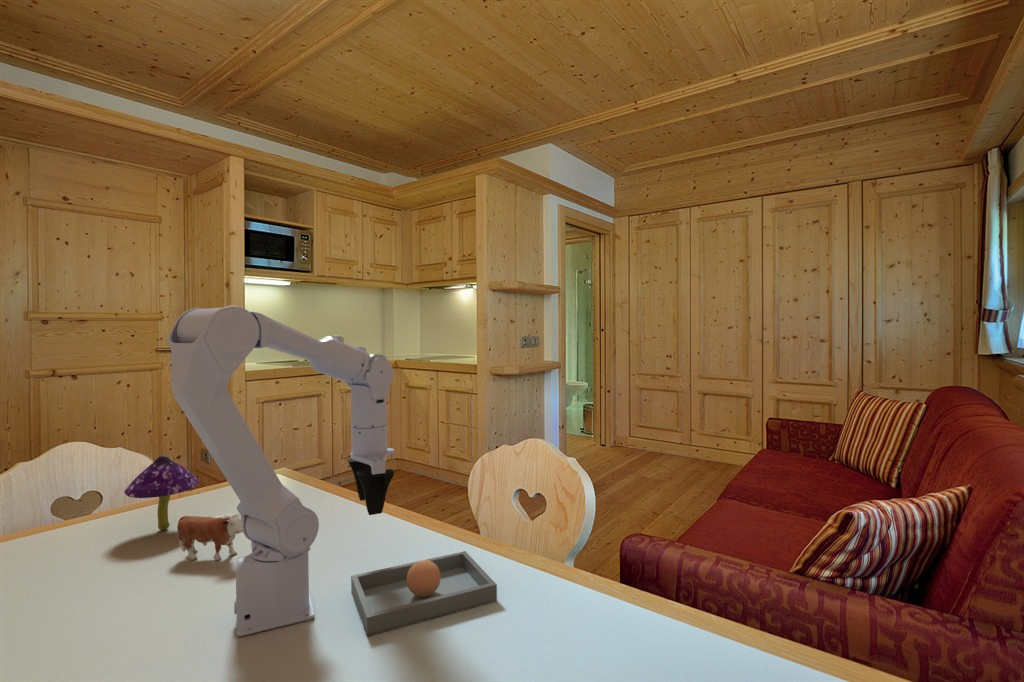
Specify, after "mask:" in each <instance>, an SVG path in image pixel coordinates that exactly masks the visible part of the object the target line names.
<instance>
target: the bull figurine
mask: <svg viewBox="0 0 1024 682" xmlns="http://www.w3.org/2000/svg"><path fill="white" fill-rule="evenodd" d="M176 530H177V534H178V543H179V547H180V549H181V551H182V552H186V551H187V553H188V555H187V556H188V557H187V558H188V559H190V560H191V561H196V560H198V558H199V557H198V556H197V553H198V552H199V551H198V550H197V548H196V546H195V541H196V542H198V543H200V544H203V546H204V547H206V546H207V545H208V543H214V549H215V553H214V555H213V558H212V559H214V561H216V562H221V560H222V556H221V555H220V552H221V549H222V546H227V547H228V554H229V555H230V556H231V555H234V556H236V555H238V552H237V551H235V549H234V546H233V545H234V544H233V541H234V540H235V539H236V535H237V534H241V533H243V531H242V519H241V515H240V513H234V514H232V513H226V514H221V515H218V516H217V515H216V516H196V515H183V516H181V517H180V518H179V520H178V523H177V527H176Z"/></svg>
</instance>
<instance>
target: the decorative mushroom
mask: <svg viewBox="0 0 1024 682" xmlns="http://www.w3.org/2000/svg"><path fill="white" fill-rule="evenodd" d="M199 483H200V479H199V478H198V477H197V476H195V474H193V473H192V472H191V471H190V470H188V469H187V468H185V467H184V466H182V465H181V464H179V463H177V462H175V461H173V460H172V459H171V458H170V457H168V456H166V455H160V456H158V457H157V458H155V460H153V462H152V463H151V464H150V465H149V466H147V467H146V468H144V470H143V471H141V472H140V473H139V474H138V475H137V476H136V477H135V478H134V479H133V480H132V481H131V482H130V484H128V486H127V487H126V488H125V489H124V492H123V493H124V495H125V496H126V497H129V498H133V499H150V498H159V500H158V505H157V524H158V525H157V528H158V530H161V531H165V530H167V529H169V527H170V526H171V525H170V522H169V512H168V511H169V502H170V499H171V495H176V494H180V493H184V492H186V491H189V490H191V489H193V488H195V487H196V486H198V484H199Z"/></svg>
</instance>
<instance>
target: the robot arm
mask: <svg viewBox="0 0 1024 682" xmlns="http://www.w3.org/2000/svg"><path fill="white" fill-rule="evenodd" d="M166 341H167V344H168V347H169V349H170V351H171V352H170V354H171V357H170V358H171V359H170V361H171V362H170V391H171V393H172V396H173V398H174V399H175V401H176V403H177V404H178V406H179V407H180V409H181V411H182V412H183V413H184V415H185V417H186V419H188V421H189V422H190V424H191V425H192V427H193V429H194V430H195V432H196V434H197V436H198V437H199V439H200V440H201V441H202V443H203V445H204V446H205V448H206V449H207V452H208V453H209V454H210V455H211V457H212V459H213V460H214V462H215V463H216V465H217V467H218V468H219V470H220V471H221V473H222V475H223V476H224V478H225V479H226V481H227V482H228V484H229V486H230V488H231V489H232V491H233V492H234V493H235V495H236V497H237V498H238V500H239V503H238V504H237V506H236V510H237V513H238V514H239V515H240V516H241V519H242V531H243V532H242V533H243V535H244V537H245V538H246V539H247V540H249V541H251V542H250V543H251V544H250V545H251V546H250V547H251V553H249V554H246V555H243V556H239V557H237V558H236V562H235V597H236V598H235V600H234V601H233V604H234V608H233V611H234V615H236V636H237V637H243V636H247V635H252V634H255V633H259V632H262V631H263V632H264V631H266V630H272V629H275V628H279V627H280V628H281V627H283V626H288V625H292V624H296V623H299V622H300V623H301V622H305V621H308V620H312V619H314V618H315V609H314V603H313V599H312V593H311V590H310V582H309V581H310V574H309V572H310V571H309V551H311V546H312V545H313V543H314V542H315V540H316V538H317V536H318V533H319V527H320V522H319V518H318V515H317V514H316V512H315V511H314V510H312V509H310V508H309V507H307V506H305V505H303V503H302V502H301V500H300V498H299V497H298V496H297V495H296V494H294V493H293V492H292V491H291V490H289V489H288V487H286V486H285V485H284V484H283V483H282V482H281V480H280V479H279V477H278V475H277V473H276V472H275V470H274V468H273V467H272V465H271V463H270V462H269V460H268V458H267V456H266V455H265V453H264V451H263V450H262V448H261V446H260V443H259V442H258V440H257V439H256V437H255V436H254V434H253V432H252V431H251V429H250V427H249V426H248V424H247V422H246V420H245V418H244V416H243V415H242V413H241V411H240V410H239V408H238V407H237V404H236V403H235V401H234V399H233V398H232V396H231V395H230V393H229V391H228V388H227V387H228V385H229V382H230V380H231V378H232V376H233V374H234V373H235V371H236V370H237V369H238V368H239V367H240V366H241V364H242V363H243V362H244V361H245V360H246V358H248V356H249V355H250V354H251V352H252V351H253V350H254V349H263V348H267V349H272V350H275V351H278V352H282V353H285V354H288V355H290V356H291V355H292V356H294V357H297V358H301V359H304V360H308V361H309V365H310V367H311V369H312V370H313V371H315V372H316V373H319V374H322V375H325V376H328V377H331V378H334V379H337V380H341V381H342V382H345V384H346V385H347V386H348V387H350V415H351V416H350V418H351V421H350V422H351V427H350V428H351V431H350V432H351V452H350V458H349V459H347V463H348V464H349V466H350V468H351V471H352V474H353V477H354V480H355V486H356V490H357V495H358V498H359V501H361V502H362V501H364V502H365V505H366V506H365V507H366V511H367V514H368V515H369V516H372V515H378V514H382V513H383V511H384V507H385V501H386V497H387V492H388V488H389V485H390V483H391V482H392V480H393V478H394V475H395V470H394V469H392V468H390V469H386V461H387V459H388V456H389V455H394V454H395V449H394V448H393V447H388V417H387V416H388V414H387V413H388V412H387V410H388V408H387V407H388V406H387V403H388V402H387V398H388V397H389V396H388V395H390V386H391V383H392V382H393V380H394V377H395V376H394V375H395V369H393V367H392V364H391V362H390V360H388V358H387V357H386V356H385V355H383V354H380V353H378V354H377V353H369V352H367V348H366V347H364V346H354V345H352V344H349V343H348V342H345V337H342V336H340V335H332V336H329V335H327V336H324V337H322V338H320V339H316V338H314V337H312V336H310V335H307V334H306V333H303V332H301V331H299V330H297V329H295V328H293V327H290V326H288V325H286V324H285V323H282V322H279V321H277V320H276V319H273V318H271V317H269V316H267V315H265V314H263V313H261V312H256V311H249V310H248V309H246V308H244V307H241V306H237V305H228V306H224V307H215V308H214V307H213V308H206V307H205V308H204V307H193V308H190V309H187V310H185V311H183V312H182V313H181V314H180V315H179V316H178V317H177V319H176V321H175V322H174V324H173V325H172V327H171V329H170V332H169V334H168V335H167V338H166Z"/></svg>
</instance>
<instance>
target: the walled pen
mask: <svg viewBox="0 0 1024 682" xmlns="http://www.w3.org/2000/svg"><path fill="white" fill-rule="evenodd" d="M425 560H428V561H431V562H433V563H434V564H435V565H436V566H437V567H438V569H439V571H440V575H441V579H440V584H439V586H438V588H437V590H436V591H435V592H434V593H433V594H431V595H429V596H427V597H418V596H416V595H414V594H413V593H412V592H411V591H410V590H409V588H408V586H407V574H408V571H409V569H410V568H411V567H412V566H413V565H414V564H415V563H416V562H418V561H419V560H418V561H417V560H416V561H413V562H409V563H405V564H404V563H403V564H400V565H395V566H391V567H386V568H382V569H378V570H377V569H376V570H372V571H368V572H363V573H358V574H353V575H351V576H350V577H351V579H350V581H351V582H350V583H351V584H350V585H351V587H350V589H351V590H350V591H351V595H352V598H353V601H354V603H355V606H356V609H357V612H358V614H359V615H358V616H359V617H360V620H361V623H362V626H363V628H364V632H365V635H366V637H371V636H375V635H378V634H383V633H385V632H386V633H387V632H389V631H393V630H396V629H400V628H403V627H408V626H412V625H416V624H419V623H421V622H426V621H429V620H433V619H437V618H441V617H444V616H448V615H452V614H456V613H459V612H462V611H466V610H471V609H474V608H477V607H482V606H484V605H488V604H492V603H495V602H498V595H497V594H498V593H497V592H498V588H497V587H498V585H497V583H496V582H495V581H494V580H493V579H492V578H491V576H489V574H488V573H487V572H486V571H485V570H484V569H483V568H482V567H481V566H480V565H479V564H478V563H477V562H476V561H475V559H473V558H472V556H471V555H469V553H468V552H467V551H466V550H465V551H459V552H455V553H451V554H446V555H440V556H437V557H432V558H426V559H425Z"/></svg>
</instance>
